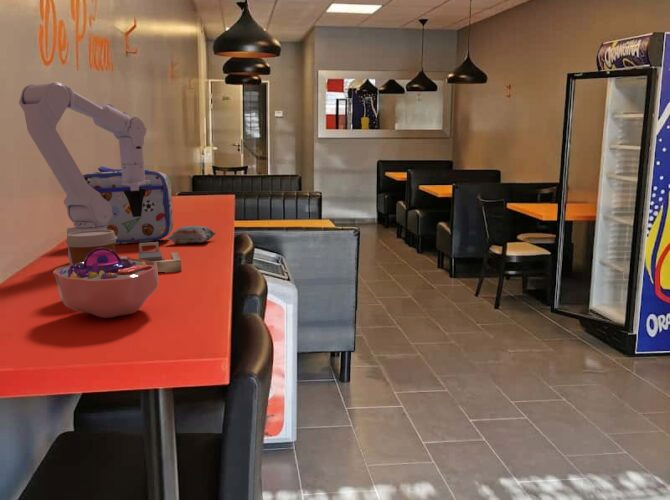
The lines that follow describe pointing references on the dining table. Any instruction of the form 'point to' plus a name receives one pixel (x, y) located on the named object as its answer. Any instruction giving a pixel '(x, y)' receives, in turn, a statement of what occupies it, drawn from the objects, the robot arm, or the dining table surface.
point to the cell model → (106, 284)
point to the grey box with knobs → (150, 252)
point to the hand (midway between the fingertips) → (136, 216)
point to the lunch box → (125, 226)
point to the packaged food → (191, 235)
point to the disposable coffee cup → (89, 243)
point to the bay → (167, 263)
